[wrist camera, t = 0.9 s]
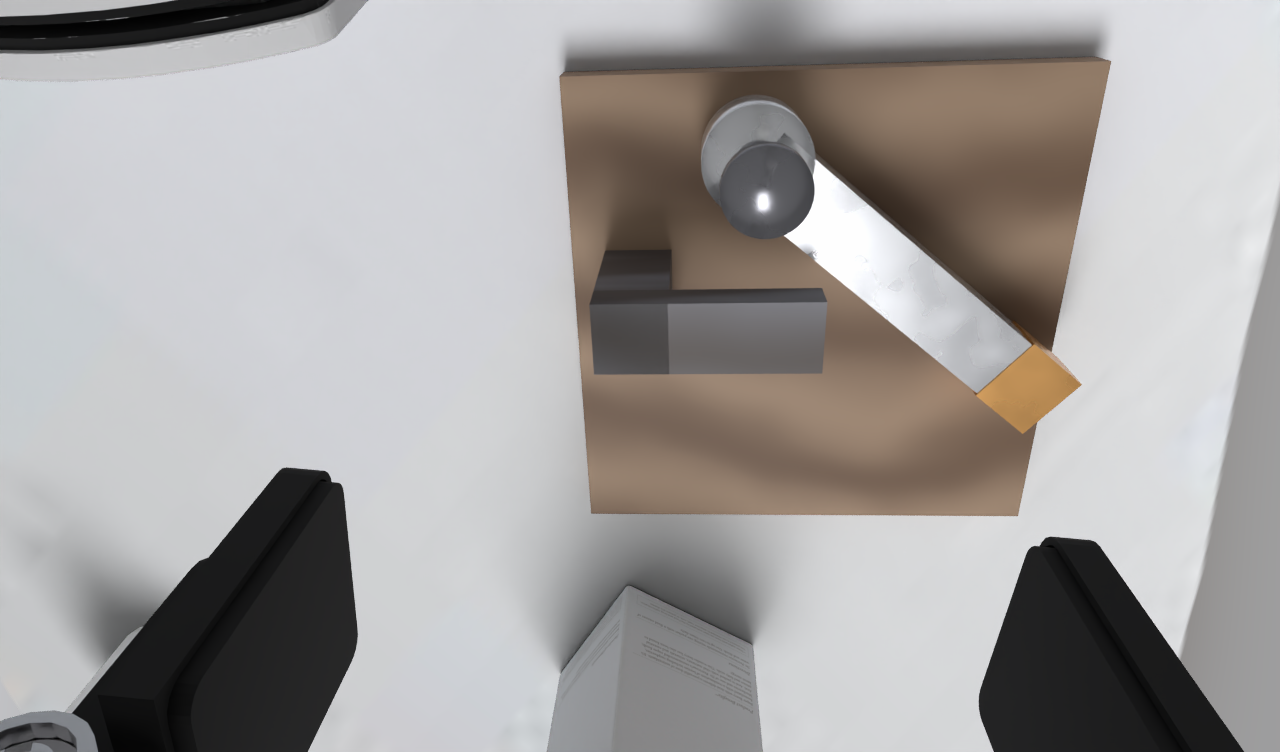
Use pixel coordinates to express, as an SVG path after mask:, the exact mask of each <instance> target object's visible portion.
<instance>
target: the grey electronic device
mask: <svg viewBox="0 0 1280 752" xmlns="http://www.w3.org/2000/svg"><path fill="white" fill-rule="evenodd" d="M367 1H368V0H0V79H3V80H14V81H47V82H76V81H95V80H114V79H128V78H138V77H148V76H158V75H166V74H173V73H180V72H187V71H193V70H200V69H207V68H214V67H220V66H226V65H231V64H237V63H242V62H248V61H253V60H257V59H262V58H267V57H271V56H276V55H281V54H285V53H289V52H294V51H298V50H302V49H306V48H311V47H315V46H319V45H321V44H324V43H326V42H328V41H330V40H332V39H334V38H335V37H336V36H337V35H338V34H339V33H340V32H341V31H342V30H343V28H344V27H345V26H346V25H347V24H348V23H349V22H350V20H351V19H352V18H353V17H354V16H355V15H356V14H357V12H358V11H359V10H360V9H361V8H362V7H363V6H364V4H365V3H366V2H367Z"/></svg>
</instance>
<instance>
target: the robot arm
mask: <svg viewBox="0 0 1280 752" xmlns="http://www.w3.org/2000/svg"><path fill="white" fill-rule="evenodd" d="M357 637H358V631H357V620H356V610H355V600H354V590H353V581H352V571H351V561H350V551H349V541H348V531H347V521H346V511H345V501H344V492H343V488H342V485H341V484H340V483H334V482H331V478H330V476H329V474H328V473H327V472H326V471H319V470H308V469H297V468H282V469H281V470H280V471H279V472H278V473H277V474H276V475H275V476H274V478H273V479H272V480H271V481H270V483H269V484H268V485H267V486H266V488H265V489H264V490H263V491H262V492H261V494H260V495H259V496H258V497H257V499H256V500H255V501H254V502H253V504H252V505H251V506H250V507H249V508H248V510H247V511H246V512H245V513H244V515H243V516H242V517H241V518H240V520H239V521H238V522H237V523H236V524H235V526H234V527H233V528H232V529H231V531H230V532H229V533H228V534H227V536H226V537H225V538H224V539H223V540H222V542H221V543H220V544H219V545H218V547H217V548H216V549H215V550H214V552H213V553H212V554H211V555H210V556H209V558H206V559H204V560H201V561H199V562H198V563H197V564H196V565H195V566H194V567H193V568H191V570H190V571H189V572H188V573H187V574H186V576H185V577H184V578H183V579H182V580H181V582H180V583H179V584H178V585H177V587H176V588H175V589H174V590H173V591H172V593H171V594H170V595H169V596H168V597H167V599H166V600H165V601H164V602H163V603H162V605H161V606H160V607H159V608H158V609H157V611H156V612H155V613H154V614H153V616H152V617H151V618H150V619H149V620H148V622H147V623H146V624H145V625H144V626H143V628H142V629H141V630H140V631H139V632H138V634H137V635H136V636H135V637H134V639H133V640H132V641H131V642H130V643H129V645H128V646H127V647H126V648H125V649H124V651H123V652H122V653H121V654H120V655H119V657H118V658H117V659H116V660H115V662H114V663H113V664H112V665H111V666H110V668H109V669H108V670H107V671H106V672H105V674H104V675H103V676H102V677H101V678H100V680H99V681H98V682H97V683H96V685H95V686H94V687H93V688H92V689H91V691H90V692H89V693H88V694H87V695H86V697H85V698H84V699H83V700H82V701H81V703H80V704H79V705H78V706H77V707H76V709H75V710H74V711H73V712H72V714H71V713H65V712H59V711H42V712H30V713H26V714H23V715H19V716H16V717H12V718H8V719H4V720H2V721H0V752H308V750H309V748H310V746H311V744H312V742H313V740H314V738H315V736H316V733H317V731H318V729H319V727H320V725H321V723H322V721H323V719H324V717H325V715H326V713H327V711H328V709H329V707H330V705H331V703H332V701H333V699H334V696H335V694H336V692H337V690H338V688H339V686H340V684H341V682H342V680H343V678H344V676H345V674H346V672H347V670H348V668H349V666H350V664H351V662H352V659H353V657H354V653H355V650H356V645H357ZM979 710H980V716H981V719H982V722H983V725H984V727H985V730H986V733H987V735H988V738H989V740H990V743H991V746H992V748H993V751H994V752H1244V751H1243V750H1242V748H1241V747H1240V745H1239V744H1238V742H1237V741H1236V740H1235V738H1234V737H1233V735H1232V734H1231V732H1230V731H1229V730H1228V728H1227V727H1226V725H1225V724H1224V722H1223V721H1222V720H1221V718H1220V717H1219V715H1218V714H1217V713H1216V711H1215V710H1214V708H1213V707H1212V705H1211V704H1210V703H1209V701H1208V700H1207V698H1206V697H1205V696H1204V694H1203V693H1202V691H1201V690H1200V688H1199V687H1198V685H1197V684H1196V683H1195V681H1194V680H1193V678H1192V677H1191V676H1190V674H1189V673H1188V671H1187V670H1186V668H1185V667H1184V666H1183V664H1182V663H1181V661H1180V660H1179V658H1178V657H1177V656H1176V654H1175V653H1174V651H1173V650H1172V648H1171V647H1170V646H1169V644H1168V643H1167V641H1166V640H1165V639H1164V637H1163V636H1162V634H1161V633H1160V631H1159V630H1158V629H1157V627H1156V626H1155V624H1154V623H1153V621H1152V620H1151V619H1150V617H1149V616H1148V614H1147V613H1146V611H1145V610H1144V609H1143V607H1142V606H1141V604H1140V603H1139V602H1138V600H1137V599H1136V597H1135V596H1134V594H1133V593H1132V592H1131V590H1130V589H1129V587H1128V586H1127V584H1126V583H1125V582H1124V580H1123V579H1122V577H1121V576H1120V574H1119V573H1118V572H1117V570H1116V569H1115V567H1114V566H1113V565H1112V563H1111V562H1110V560H1109V559H1108V557H1107V556H1106V555H1105V553H1104V552H1103V550H1102V549H1101V547H1100V546H1099V545H1098V544H1097V543H1096V542H1094V541H1091V540H1082V539H1071V538H1060V537H1048V538H1045V539H1044V541H1043V542H1042V543H1041V545H1040V546H1033V547H1031V548H1030V549H1029V550H1028V552H1027V554H1026V557H1025V560H1024V563H1023V566H1022V569H1021V572H1020V574H1019V577H1018V580H1017V583H1016V586H1015V589H1014V592H1013V595H1012V598H1011V601H1010V604H1009V607H1008V610H1007V613H1006V616H1005V619H1004V621H1003V624H1002V627H1001V630H1000V633H999V636H998V639H997V642H996V645H995V648H994V651H993V654H992V657H991V660H990V663H989V666H988V668H987V671H986V674H985V677H984V680H983V683H982V686H981V689H980V694H979Z"/></svg>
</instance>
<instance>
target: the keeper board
mask: <svg viewBox="0 0 1280 752" xmlns="http://www.w3.org/2000/svg"><path fill="white" fill-rule="evenodd" d="M1110 64H1111V61H1109V60H1105V59H1101V58H1098V57H1070V58H1035V59H1000V60H965V61H930V62H895V63H859V64H824V65H789V66H754V67H719V68H684V69H649V70H614V71H578V72H564V73H563V74H562V75H561V76H560V91H561V105H562V118H563V132H564V146H565V160H566V173H567V187H568V201H569V214H570V228H571V242H572V256H573V269H574V283H575V297H576V311H577V324H578V338H579V352H580V365H581V379H582V393H583V407H584V420H585V434H586V448H587V462H588V475H589V489H590V503H591V513H596V514H761V515H926V516H1018V513H1019V508H1020V503H1021V498H1022V493H1023V488H1024V483H1025V478H1026V474H1027V469H1028V464H1029V459H1030V454H1031V449H1032V444H1033V439H1034V435H1035V430H1036V425H1037V423H1035V424H1034V425H1033V426H1032V427H1031V428H1029V429H1028V430H1027V431H1026V432H1025V433H1023V434H1022V433H1021V432H1020V431H1018V430H1017V429H1016V428H1015V427H1014V426H1012V425H1011V424H1010V423H1009V422H1007V421H1006V420H1005V419H1004V418H1003V417H1001V416H1000V415H999V414H998V413H996V412H995V411H994V410H993V409H992V408H990V407H989V406H988V405H987V404H985V403H984V402H983V401H982V400H980V399H979V398H978V397H977V396H976V395H975V394H974V392H973V390H972V389H971V388H970V387H969V386H967V385H966V384H965V383H964V382H962V381H961V380H960V379H959V378H958V377H956V376H955V375H954V374H953V373H951V372H950V371H949V370H948V369H947V368H945V367H944V366H943V365H942V364H940V363H939V362H938V361H937V360H936V359H934V358H933V357H932V356H931V355H929V354H928V353H927V352H926V351H925V350H923V349H922V348H921V347H920V346H918V345H917V344H916V343H915V342H914V341H912V340H911V339H910V338H909V337H907V336H906V335H905V334H904V333H903V332H901V331H900V330H899V329H898V328H896V327H895V326H894V325H893V324H892V323H890V322H889V321H888V320H887V319H885V318H884V317H883V316H882V315H881V314H879V313H878V312H877V311H876V310H874V309H873V308H872V307H871V306H870V305H868V304H867V303H866V302H865V301H864V300H862V299H861V298H860V297H859V296H857V295H856V294H855V293H854V292H853V291H851V290H850V289H849V288H848V287H846V286H845V285H844V284H843V283H842V282H840V281H839V280H838V279H837V278H835V277H834V276H833V275H832V274H831V273H829V272H828V271H827V270H826V269H824V268H823V267H822V266H821V265H820V264H818V263H817V262H816V261H815V260H813V259H812V258H811V257H810V256H809V255H807V254H806V253H805V252H804V251H802V250H801V249H800V248H799V247H798V246H796V245H795V244H794V243H793V242H791V241H790V240H789V239H788V238H787V237H785V236H781V237H778V238H774V239H756V238H752V237H749V236H746V235H744V234H742V233H740V232H739V231H738V230H736V229H735V228H734V227H733V226H732V225H731V224H730V223H729V221H728V220H727V218H726V217H725V215H724V213H723V210H722V207H721V206H719V205H718V204H717V203H716V202H715V201H714V199H713V198H712V197H711V195H710V194H709V192H708V190H707V188H706V186H705V184H704V180H703V177H702V171H701V141H702V137H703V134H704V131H705V128H706V126H707V125H708V123H709V121H710V120H711V118H712V117H713V115H714V114H715V113H716V112H717V111H718V110H719V109H720V108H721V107H723V106H724V105H725V104H727V103H729V102H730V101H732V100H734V99H736V98H739V97H742V96H747V95H766V96H771V97H774V98H776V99H779V100H781V101H783V102H784V103H786V104H787V105H788V106H790V107H791V108H792V109H793V110H794V111H795V112H796V114H797V115H798V116H799V118H800V119H801V121H802V122H803V124H804V126H805V127H806V129H807V131H808V132H809V134H810V136H811V139H812V141H813V145H814V149H815V153H817V154H818V155H819V156H820V157H821V158H822V159H823V160H825V161H826V162H827V163H828V164H829V165H830V166H832V167H833V168H834V169H835V170H836V171H837V172H839V173H840V174H841V175H842V176H843V177H844V178H846V179H847V180H848V181H849V182H850V183H851V184H853V185H854V186H855V187H856V188H857V189H858V190H860V191H861V192H862V193H863V194H864V195H865V196H866V197H868V198H869V199H870V200H871V201H872V202H873V203H875V204H876V205H877V206H878V207H879V208H880V209H882V210H883V211H884V212H885V213H886V214H887V215H889V216H890V217H891V218H892V219H893V220H894V221H896V222H897V223H898V224H899V225H900V226H901V227H903V228H904V229H905V230H906V231H907V232H908V233H910V234H911V235H912V236H913V237H914V238H915V239H916V240H918V241H919V242H920V243H921V244H922V245H923V246H925V247H926V248H927V249H928V250H929V251H930V252H932V253H933V254H934V255H935V256H936V257H937V258H939V259H940V260H941V261H942V262H943V263H944V264H946V265H947V266H948V267H949V268H950V269H951V270H953V271H954V272H955V273H956V274H957V275H958V276H960V277H961V278H962V279H963V280H964V281H965V282H966V283H968V284H969V285H970V286H971V287H972V288H973V289H975V290H976V291H977V292H978V293H979V294H980V295H982V296H983V297H984V298H985V299H986V300H987V301H989V302H990V303H991V304H992V305H993V306H994V307H996V308H997V309H998V310H999V311H1000V312H1001V313H1003V314H1004V315H1005V316H1006V317H1007V318H1008V319H1010V320H1011V321H1013V320H1014V321H1016V322H1017V323H1018V324H1019V325H1020V326H1021V327H1023V328H1024V329H1025V330H1026V331H1027V332H1028V333H1029V334H1031V335H1032V336H1033V337H1034V338H1035V339H1036V340H1038V341H1039V342H1040V343H1041V344H1042V345H1043V346H1045V347H1046V348H1047V349H1048V350H1049V351H1050V352H1052V347H1053V342H1054V337H1055V332H1056V327H1057V322H1058V318H1059V313H1060V308H1061V303H1062V298H1063V293H1064V288H1065V284H1066V279H1067V274H1068V269H1069V264H1070V259H1071V254H1072V249H1073V245H1074V240H1075V235H1076V230H1077V225H1078V220H1079V215H1080V210H1081V206H1082V201H1083V196H1084V191H1085V186H1086V181H1087V176H1088V171H1089V167H1090V162H1091V157H1092V152H1093V147H1094V142H1095V137H1096V132H1097V128H1098V123H1099V118H1100V113H1101V108H1102V103H1103V98H1104V93H1105V89H1106V84H1107V79H1108V74H1109V69H1110Z"/></svg>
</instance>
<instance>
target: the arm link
mask: <svg viewBox="0 0 1280 752" xmlns="http://www.w3.org/2000/svg"><path fill="white" fill-rule="evenodd" d="M701 171H702V177H703V180H704V184H705V186H706V188H707V190H708V192H709V194H710V195H711V197H712V198H713V199H714V201H715V202H716V203H717V204H718V205H719V206H721V207H722V210H723V213H724V215H725V217H726V218H727V220H728V221H729V223H730V224H731V225H732V226H733V227H734V228H735V229H736V230H738V231H739V232H740V233H742V234H744V235H746V236H749V237H752V238H756V239H774V238H778V237H781V236H785V237H787V238H788V239H789V240H790V241H791V242H793V243H794V244H795V245H796V246H798V247H799V248H800V249H801V250H802V251H804V252H805V253H806V254H807V255H809V256H810V257H811V258H812V259H813V260H815V261H816V262H817V263H818V264H820V265H821V266H822V267H823V268H824V269H826V270H827V271H828V272H829V273H831V274H832V275H833V276H834V277H835V278H837V279H838V280H839V281H840V282H842V283H843V284H844V285H845V286H846V287H848V288H849V289H850V290H851V291H853V292H854V293H855V294H856V295H857V296H859V297H860V298H861V299H862V300H864V301H865V302H866V303H867V304H868V305H870V306H871V307H872V308H873V309H874V310H876V311H877V312H878V313H879V314H881V315H882V316H883V317H884V318H885V319H887V320H888V321H889V322H890V323H892V324H893V325H894V326H895V327H896V328H898V329H899V330H900V331H901V332H903V333H904V334H905V335H906V336H907V337H909V338H910V339H911V340H912V341H914V342H915V343H916V344H917V345H918V346H920V347H921V348H922V349H923V350H925V351H926V352H927V353H928V354H929V355H931V356H932V357H933V358H934V359H936V360H937V361H938V362H939V363H940V364H942V365H943V366H944V367H945V368H947V369H948V370H949V371H950V372H951V373H953V374H954V375H955V376H956V377H958V378H959V379H960V380H961V381H962V382H964V383H965V384H966V385H967V386H969V387H970V388H971V389H972V390H973V392H974V394H975V395H976V396H977V397H978V398H979V399H980V400H982V401H983V402H984V403H985V404H987V405H988V406H989V407H990V408H992V409H993V410H994V411H995V412H996V413H998V414H999V415H1000V416H1001V417H1003V418H1004V419H1005V420H1006V421H1007V422H1009V423H1010V424H1011V425H1012V426H1014V427H1015V428H1016V429H1017V430H1018V431H1020V432H1021V433H1022V434H1023V433H1025V432H1026V431H1027V430H1028V429H1029V428H1031V427H1032V426H1033V425H1034V424H1035V423H1037V422H1038V421H1039V420H1040V419H1041V418H1042V417H1044V416H1045V415H1046V414H1047V413H1048V412H1050V411H1051V410H1052V409H1053V408H1054V407H1056V406H1057V405H1058V404H1059V403H1060V402H1062V401H1063V400H1064V399H1065V398H1066V397H1068V396H1069V395H1070V394H1071V393H1072V392H1074V391H1075V390H1076V389H1077V388H1078V387H1080V386H1081V385H1082V384H1081V383H1080V382H1079V381H1078V380H1077V379H1076V378H1075V376H1074V375H1073V374H1072V373H1071V372H1070V371H1069V370H1068V369H1067V367H1066V366H1065V365H1064V364H1063V363H1062V362H1061V361H1060V360H1059V359H1058V358H1057V357H1056V356H1055V355H1054V354H1053V353H1052V352H1050V351H1049V350H1048V349H1047V348H1046V347H1045V346H1043V345H1042V344H1041V343H1040V342H1039V341H1038V340H1036V339H1035V338H1034V337H1033V336H1032V335H1031V334H1029V333H1028V332H1027V331H1026V330H1025V329H1024V328H1023V327H1021V326H1020V325H1019V324H1018V323H1017V322H1016V321H1014V320H1013V321H1011V320H1010V319H1008V318H1007V317H1006V316H1005V315H1004V314H1003V313H1001V312H1000V311H999V310H998V309H997V308H996V307H994V306H993V305H992V304H991V303H990V302H989V301H987V300H986V299H985V298H984V297H983V296H982V295H980V294H979V293H978V292H977V291H976V290H975V289H973V288H972V287H971V286H970V285H969V284H968V283H966V282H965V281H964V280H963V279H962V278H961V277H960V276H958V275H957V274H956V273H955V272H954V271H953V270H951V269H950V268H949V267H948V266H947V265H946V264H944V263H943V262H942V261H941V260H940V259H939V258H937V257H936V256H935V255H934V254H933V253H932V252H930V251H929V250H928V249H927V248H926V247H925V246H923V245H922V244H921V243H920V242H919V241H918V240H916V239H915V238H914V237H913V236H912V235H911V234H910V233H908V232H907V231H906V230H905V229H904V228H903V227H901V226H900V225H899V224H898V223H897V222H896V221H894V220H893V219H892V218H891V217H890V216H889V215H887V214H886V213H885V212H884V211H883V210H882V209H880V208H879V207H878V206H877V205H876V204H875V203H873V202H872V201H871V200H870V199H869V198H868V197H866V196H865V195H864V194H863V193H862V192H861V191H860V190H858V189H857V188H856V187H855V186H854V185H853V184H851V183H850V182H849V181H848V180H847V179H846V178H844V177H843V176H842V175H841V174H840V173H839V172H837V171H836V170H835V169H834V168H833V167H832V166H830V165H829V164H828V163H827V162H826V161H825V160H823V159H822V158H821V157H820V156H819V155H818V154H817V153H815V149H814V145H813V141H812V139H811V136H810V134H809V132H808V131H807V129H806V127H805V126H804V124H803V122H802V121H801V119H800V118H799V116H798V115H797V114H796V112H795V111H794V110H793V109H792V108H791V107H790V106H788V105H787V104H786V103H784V102H783V101H781V100H779V99H776V98H774V97H771V96H766V95H747V96H742V97H739V98H736V99H734V100H732V101H730V102H729V103H727V104H725V105H724V106H723V107H721V108H720V109H719V110H718V111H717V112H716V113H715V114H714V115H713V117H712V118H711V120H710V121H709V123H708V125H707V126H706V128H705V131H704V134H703V137H702V141H701Z"/></svg>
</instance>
